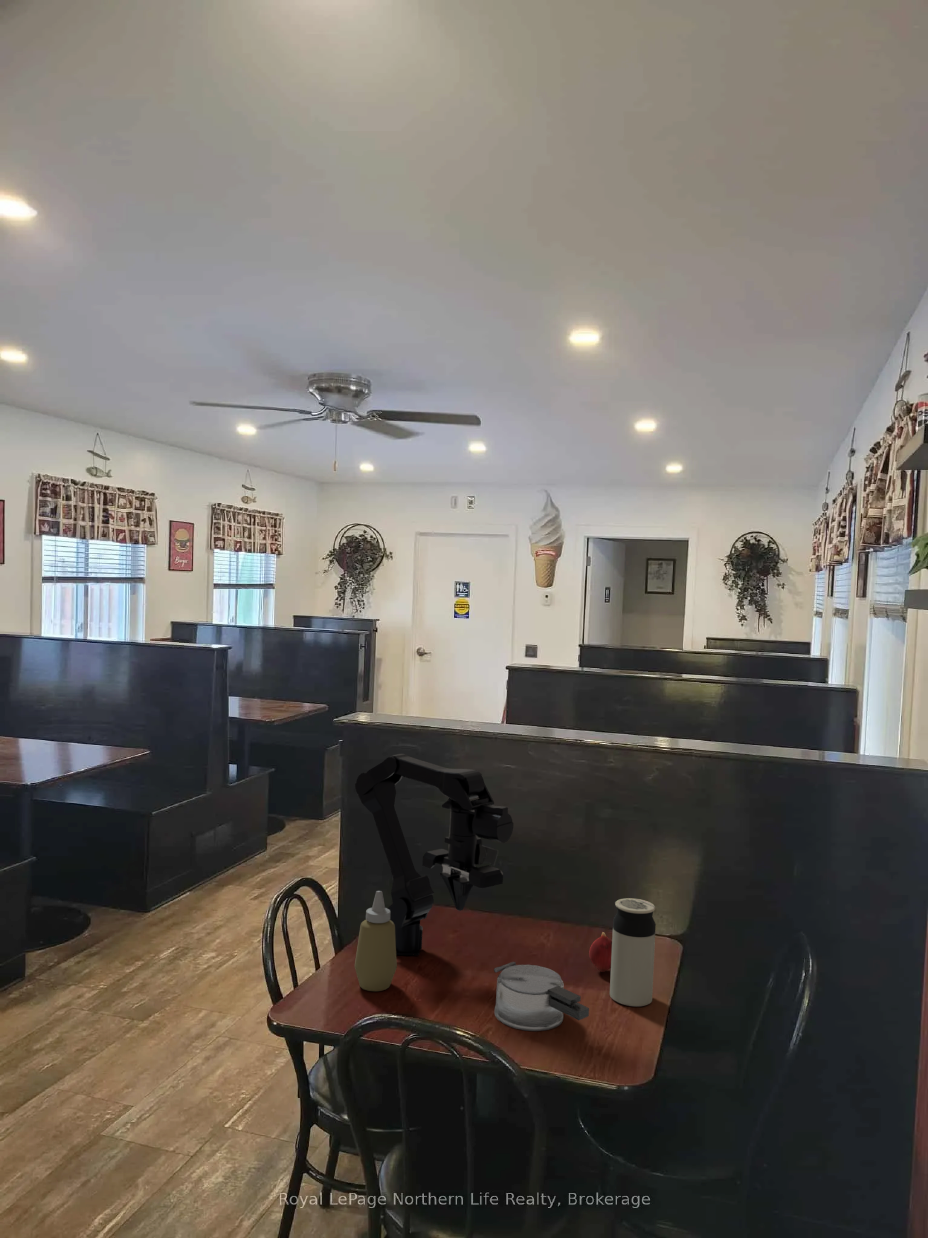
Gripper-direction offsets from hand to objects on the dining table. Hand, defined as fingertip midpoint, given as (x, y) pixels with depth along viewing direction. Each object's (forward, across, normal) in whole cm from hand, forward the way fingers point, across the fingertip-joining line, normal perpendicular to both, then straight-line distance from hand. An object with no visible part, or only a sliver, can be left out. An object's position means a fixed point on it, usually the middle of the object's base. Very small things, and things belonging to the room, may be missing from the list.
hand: (459, 910), depth 172 cm
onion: (+12, -18, -24) cm, 32 cm away
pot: (+12, -26, +3) cm, 29 cm away
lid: (+6, -24, +3) cm, 25 cm away
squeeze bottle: (+12, +3, +18) cm, 22 cm away
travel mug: (+12, -30, -18) cm, 37 cm away
